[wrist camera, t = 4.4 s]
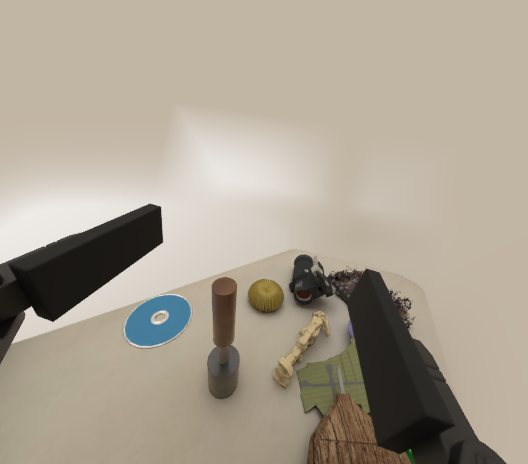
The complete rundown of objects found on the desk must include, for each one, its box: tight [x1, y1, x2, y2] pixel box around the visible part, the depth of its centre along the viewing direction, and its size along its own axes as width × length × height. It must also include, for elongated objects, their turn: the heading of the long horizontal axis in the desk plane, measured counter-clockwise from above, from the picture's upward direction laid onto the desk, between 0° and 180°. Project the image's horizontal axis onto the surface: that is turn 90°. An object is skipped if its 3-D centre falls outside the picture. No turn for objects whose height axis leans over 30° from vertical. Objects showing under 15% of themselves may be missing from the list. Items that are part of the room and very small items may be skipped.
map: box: [297, 337, 370, 416], centre depth 30 cm, size 11×18×1 cm, turn 93°
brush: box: [207, 277, 240, 399], centre depth 25 cm, size 4×4×20 cm
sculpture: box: [248, 279, 284, 312], centre depth 43 cm, size 8×4×8 cm
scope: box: [289, 255, 335, 304], centre depth 48 cm, size 8×14×10 cm
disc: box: [123, 294, 192, 348], centre depth 38 cm, size 12×1×12 cm
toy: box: [273, 311, 330, 387], centre depth 34 cm, size 6×4×15 cm
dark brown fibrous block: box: [329, 266, 415, 328], centre depth 46 cm, size 20×12×6 cm, turn 26°
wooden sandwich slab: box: [307, 365, 411, 464], centre depth 22 cm, size 12×16×5 cm
